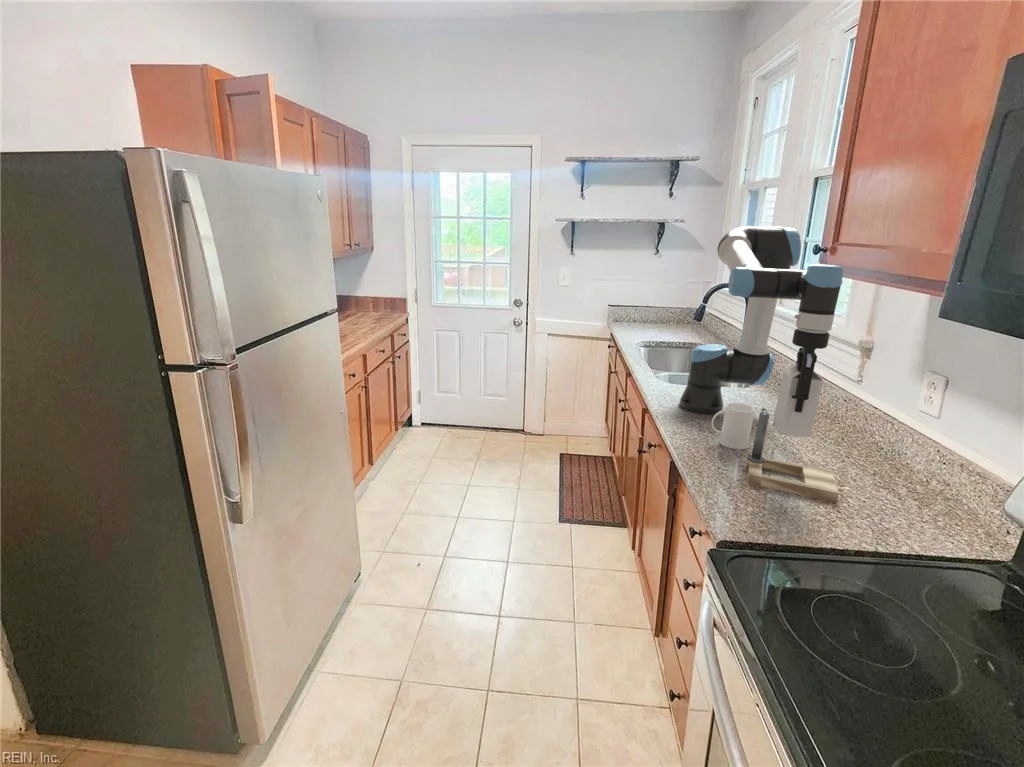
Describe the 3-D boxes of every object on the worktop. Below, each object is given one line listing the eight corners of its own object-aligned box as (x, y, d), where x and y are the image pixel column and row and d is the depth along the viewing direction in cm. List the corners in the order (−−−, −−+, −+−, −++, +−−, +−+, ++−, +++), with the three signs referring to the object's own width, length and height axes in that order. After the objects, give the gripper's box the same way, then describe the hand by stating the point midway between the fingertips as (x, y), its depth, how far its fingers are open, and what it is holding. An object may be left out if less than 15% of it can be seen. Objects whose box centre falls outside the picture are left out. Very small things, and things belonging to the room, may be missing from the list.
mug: (710, 446, 154) (716, 409, 151) (705, 435, 162) (711, 400, 159) (751, 451, 152) (758, 413, 149) (745, 440, 160) (751, 404, 157)
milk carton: (801, 427, 134) (816, 357, 128) (810, 438, 127) (827, 364, 122) (772, 424, 135) (786, 355, 130) (780, 435, 128) (794, 362, 123)
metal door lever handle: (746, 459, 146) (755, 407, 142) (762, 462, 145) (773, 409, 140) (745, 469, 140) (755, 415, 135) (763, 472, 138) (773, 418, 134)
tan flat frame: (748, 462, 144) (750, 454, 144) (829, 478, 137) (831, 470, 136) (747, 483, 132) (749, 474, 132) (836, 502, 124) (838, 493, 124)
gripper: (792, 321, 134) (776, 403, 141) (797, 335, 116) (778, 428, 122) (825, 325, 131) (807, 408, 138) (835, 339, 113) (814, 434, 119)
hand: (793, 417), depth 130 cm, fingers closed on milk carton, 8 cm apart
